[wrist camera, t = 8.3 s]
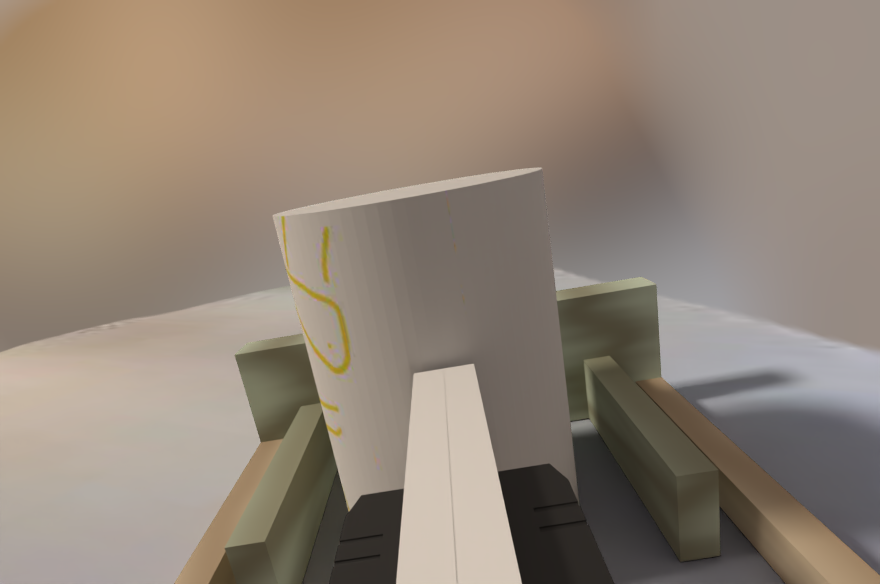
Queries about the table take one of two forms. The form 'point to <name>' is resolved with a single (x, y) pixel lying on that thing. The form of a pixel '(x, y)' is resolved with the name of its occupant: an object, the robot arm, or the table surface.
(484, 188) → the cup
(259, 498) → the wooden tray frame
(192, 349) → the table surface
